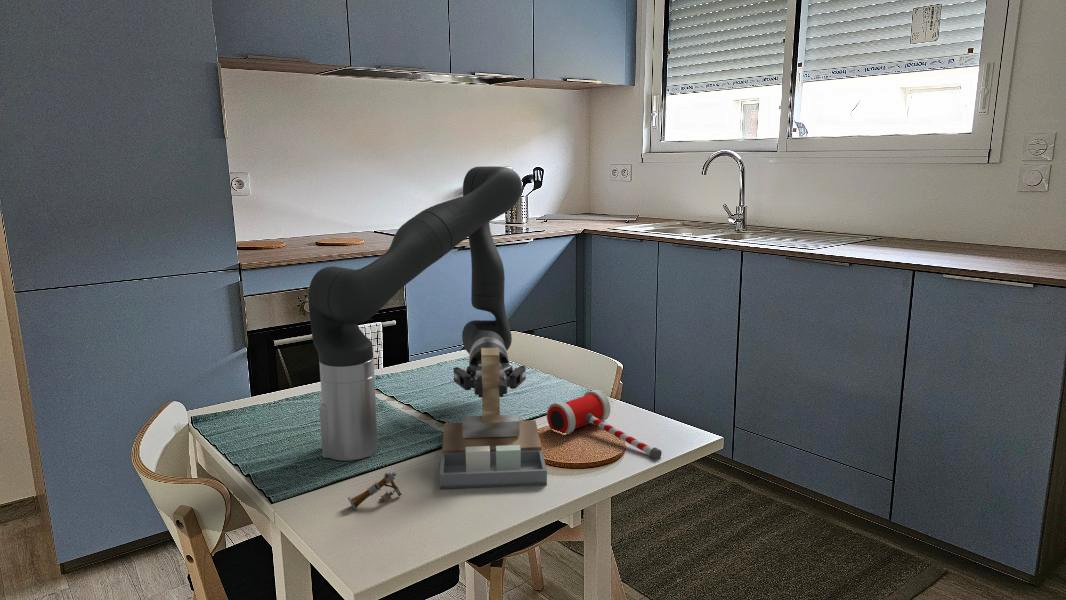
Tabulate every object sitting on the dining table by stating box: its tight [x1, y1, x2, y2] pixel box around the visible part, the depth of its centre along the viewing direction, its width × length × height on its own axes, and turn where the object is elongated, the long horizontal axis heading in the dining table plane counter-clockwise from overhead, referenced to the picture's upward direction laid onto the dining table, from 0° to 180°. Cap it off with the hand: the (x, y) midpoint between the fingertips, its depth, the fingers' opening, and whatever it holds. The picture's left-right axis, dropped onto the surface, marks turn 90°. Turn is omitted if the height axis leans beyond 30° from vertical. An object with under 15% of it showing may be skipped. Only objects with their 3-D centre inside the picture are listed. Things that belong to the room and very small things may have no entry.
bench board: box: [441, 419, 543, 454], centre depth 129 cm, size 17×12×3 cm
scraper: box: [461, 348, 521, 438], centre depth 125 cm, size 10×3×16 cm, turn 95°
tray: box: [439, 449, 548, 490], centre depth 119 cm, size 17×8×2 cm, turn 95°
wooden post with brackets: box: [346, 471, 403, 512], centre depth 110 cm, size 2×8×4 cm, turn 119°
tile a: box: [466, 446, 490, 472], centre depth 119 cm, size 4×4×2 cm
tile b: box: [496, 445, 521, 471], centre depth 120 cm, size 4×4×2 cm
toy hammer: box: [546, 389, 662, 460], centre depth 133 cm, size 23×12×6 cm, turn 42°
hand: (491, 391), depth 122 cm, fingers closed on scraper, 3 cm apart
